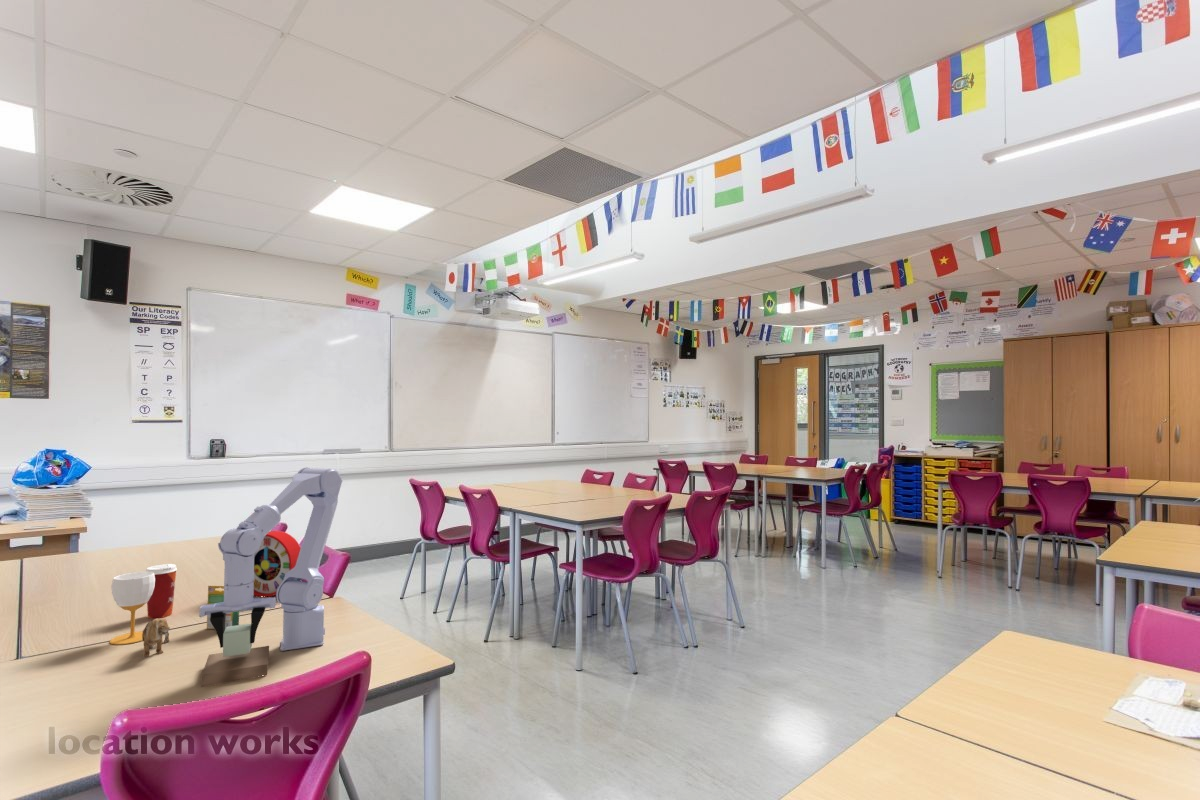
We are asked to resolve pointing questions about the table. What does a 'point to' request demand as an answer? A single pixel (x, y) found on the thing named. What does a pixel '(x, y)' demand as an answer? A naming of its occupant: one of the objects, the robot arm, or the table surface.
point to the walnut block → (235, 666)
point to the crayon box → (218, 597)
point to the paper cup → (162, 591)
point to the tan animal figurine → (155, 635)
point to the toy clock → (274, 562)
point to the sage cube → (237, 640)
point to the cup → (132, 599)
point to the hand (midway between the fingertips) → (237, 643)
